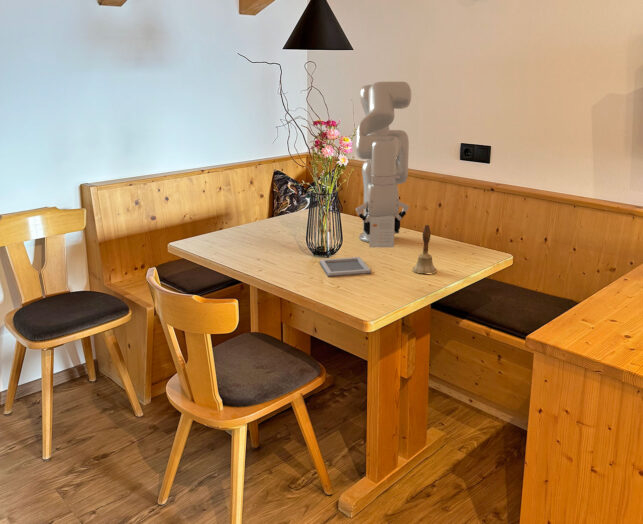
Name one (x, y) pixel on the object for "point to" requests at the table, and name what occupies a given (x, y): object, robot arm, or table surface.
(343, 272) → the docking base
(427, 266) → the hand bell
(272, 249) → the table surface
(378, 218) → the small box
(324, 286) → the table surface
